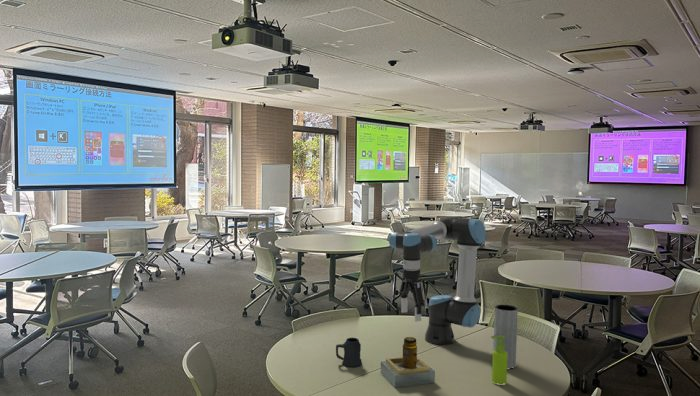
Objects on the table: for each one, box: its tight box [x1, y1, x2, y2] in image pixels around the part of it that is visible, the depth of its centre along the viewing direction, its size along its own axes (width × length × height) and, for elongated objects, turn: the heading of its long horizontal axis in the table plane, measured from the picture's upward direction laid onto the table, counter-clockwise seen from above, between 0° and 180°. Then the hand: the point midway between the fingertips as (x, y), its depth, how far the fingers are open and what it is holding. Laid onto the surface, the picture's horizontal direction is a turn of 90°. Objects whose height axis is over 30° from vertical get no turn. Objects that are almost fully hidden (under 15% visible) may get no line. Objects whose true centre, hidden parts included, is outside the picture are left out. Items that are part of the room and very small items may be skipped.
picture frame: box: [380, 356, 436, 389], centre depth 227 cm, size 18×19×6 cm
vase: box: [492, 304, 519, 368], centre depth 241 cm, size 10×10×27 cm
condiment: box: [396, 336, 420, 369], centre depth 225 cm, size 7×8×12 cm
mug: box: [335, 337, 363, 368], centre depth 240 cm, size 12×9×11 cm
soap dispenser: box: [490, 335, 508, 384], centre depth 221 cm, size 6×7×20 cm
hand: (411, 316), depth 232 cm, fingers open, 13 cm apart
